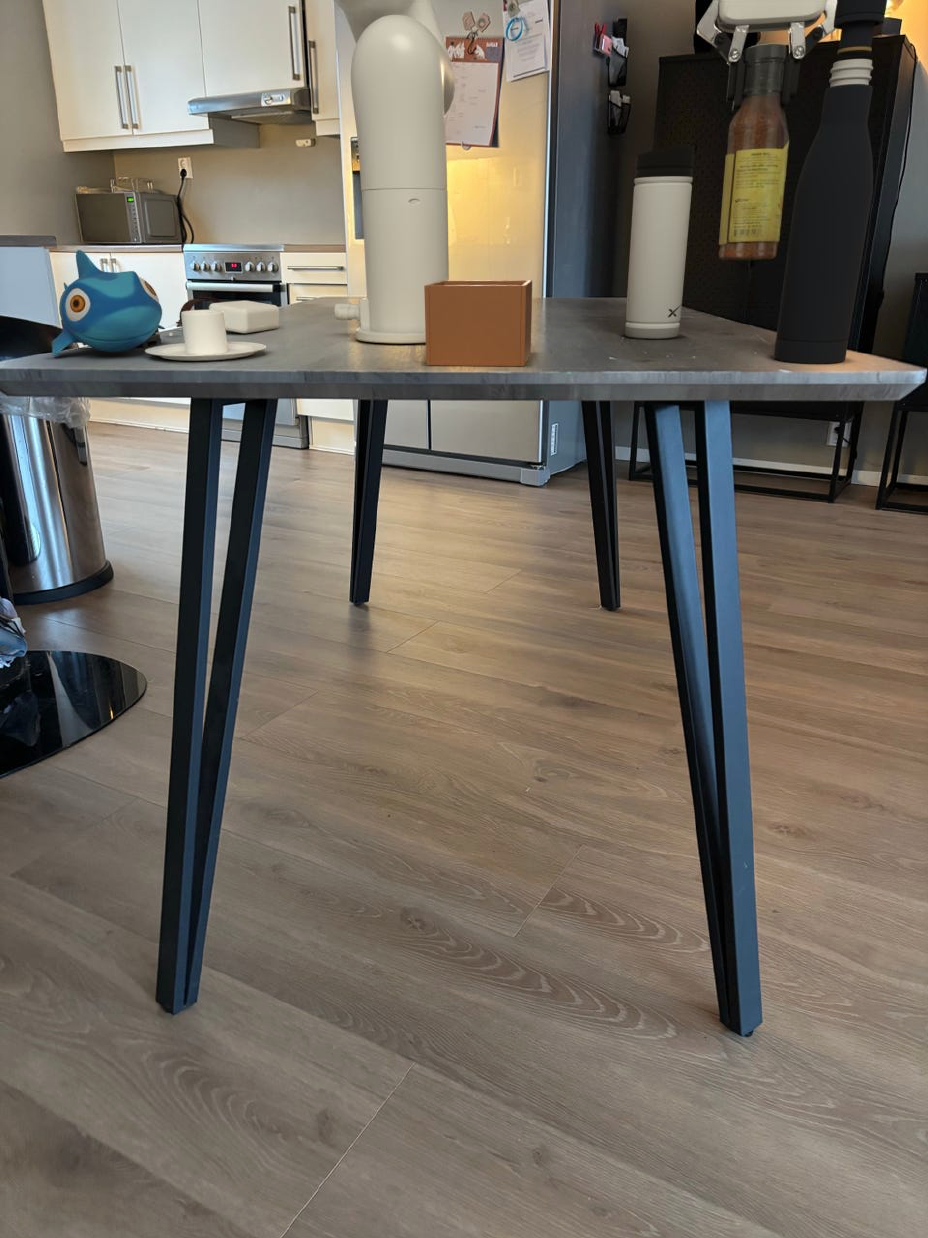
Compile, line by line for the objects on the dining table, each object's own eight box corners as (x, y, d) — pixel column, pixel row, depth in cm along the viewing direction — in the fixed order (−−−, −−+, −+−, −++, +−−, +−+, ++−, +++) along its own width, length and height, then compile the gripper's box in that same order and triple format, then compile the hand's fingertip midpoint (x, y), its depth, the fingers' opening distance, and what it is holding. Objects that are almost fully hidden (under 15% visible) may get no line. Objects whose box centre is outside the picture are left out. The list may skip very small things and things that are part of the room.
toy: (83, 367, 82) (44, 255, 78) (30, 361, 96) (-6, 265, 91) (200, 338, 89) (170, 232, 84) (135, 336, 102) (106, 245, 98)
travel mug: (686, 339, 99) (704, 140, 91) (629, 339, 100) (641, 141, 91) (675, 333, 105) (691, 145, 97) (621, 333, 105) (632, 146, 97)
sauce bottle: (788, 260, 93) (818, 42, 85) (744, 261, 91) (771, 36, 83) (745, 259, 99) (769, 53, 91) (702, 260, 96) (723, 48, 88)
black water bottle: (781, 363, 80) (834, -32, 68) (767, 354, 86) (814, -11, 74) (853, 364, 80) (920, -36, 67) (834, 355, 85) (893, -14, 73)
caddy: (426, 365, 81) (424, 285, 78) (441, 352, 90) (440, 280, 87) (524, 366, 80) (525, 285, 77) (530, 353, 89) (532, 280, 86)
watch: (174, 333, 110) (196, 342, 108) (176, 295, 107) (198, 304, 106) (216, 327, 116) (237, 336, 115) (219, 291, 113) (241, 300, 112)
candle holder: (263, 361, 85) (259, 314, 83) (135, 364, 83) (128, 317, 81) (269, 347, 96) (265, 305, 94) (156, 350, 94) (150, 307, 92)
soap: (206, 302, 108) (206, 327, 109) (246, 309, 106) (245, 334, 108) (244, 299, 116) (243, 322, 117) (281, 305, 114) (280, 329, 116)
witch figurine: (222, 318, 117) (216, 304, 116) (190, 330, 106) (183, 315, 106) (186, 330, 118) (181, 316, 117) (151, 343, 107) (144, 328, 107)
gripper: (871, -110, 83) (840, 109, 91) (692, -95, 87) (676, 115, 94) (888, -140, 77) (853, 99, 84) (693, -123, 80) (675, 106, 87)
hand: (759, 106), depth 89 cm, fingers closed on sauce bottle, 4 cm apart
